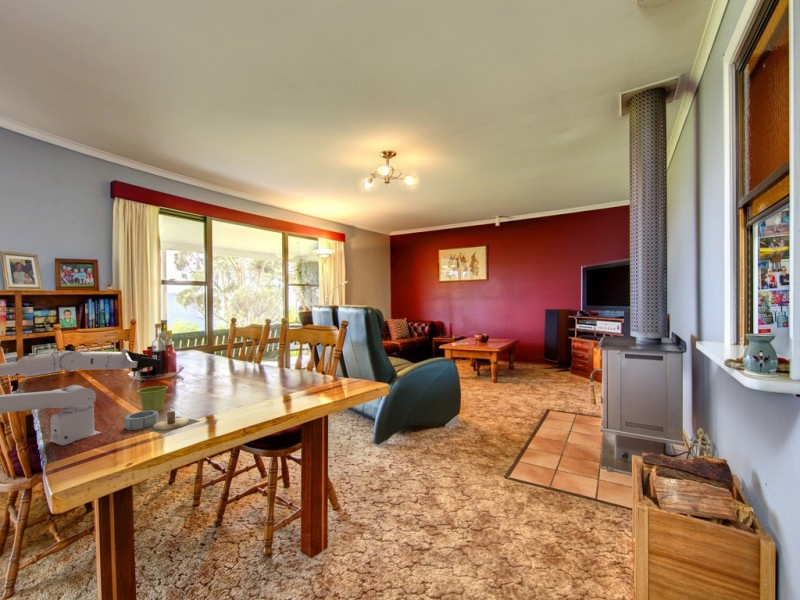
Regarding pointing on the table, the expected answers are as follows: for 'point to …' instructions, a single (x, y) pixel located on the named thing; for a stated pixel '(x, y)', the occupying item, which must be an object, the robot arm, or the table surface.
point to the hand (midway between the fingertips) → (151, 360)
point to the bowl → (141, 419)
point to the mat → (171, 429)
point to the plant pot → (153, 398)
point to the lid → (170, 422)
